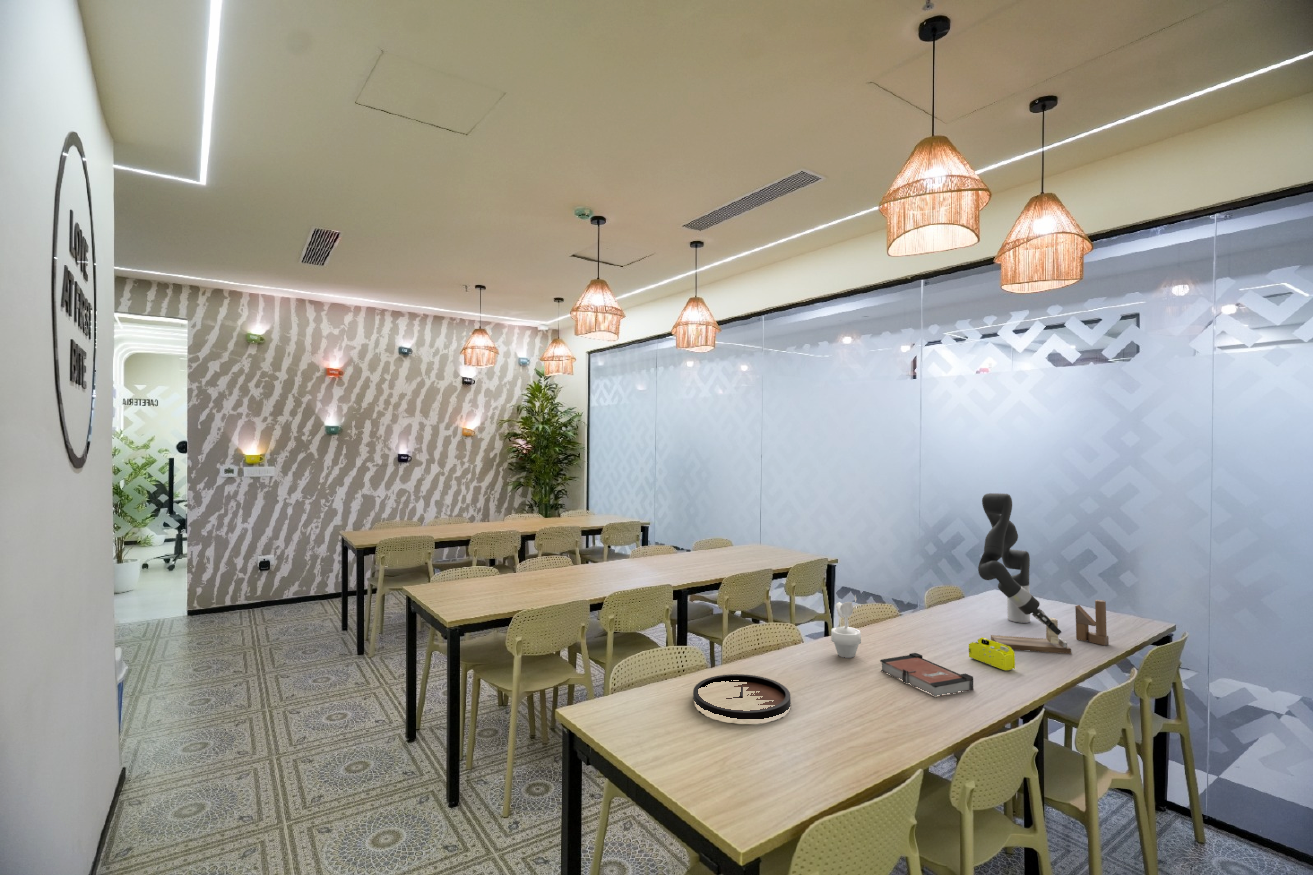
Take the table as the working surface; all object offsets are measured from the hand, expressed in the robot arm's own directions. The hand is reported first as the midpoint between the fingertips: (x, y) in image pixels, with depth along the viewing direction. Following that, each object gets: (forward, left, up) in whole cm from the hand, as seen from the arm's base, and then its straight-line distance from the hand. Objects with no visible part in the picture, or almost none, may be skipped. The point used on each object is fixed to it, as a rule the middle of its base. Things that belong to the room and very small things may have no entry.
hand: (1057, 631), depth 246 cm
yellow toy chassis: (+24, -30, -8) cm, 39 cm away
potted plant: (+27, -83, -8) cm, 87 cm away
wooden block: (-15, +17, -8) cm, 24 cm away
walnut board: (-2, -10, -7) cm, 12 cm away
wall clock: (+83, -117, -8) cm, 143 cm away
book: (+47, -57, -8) cm, 74 cm away
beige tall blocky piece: (0, -2, -4) cm, 4 cm away
